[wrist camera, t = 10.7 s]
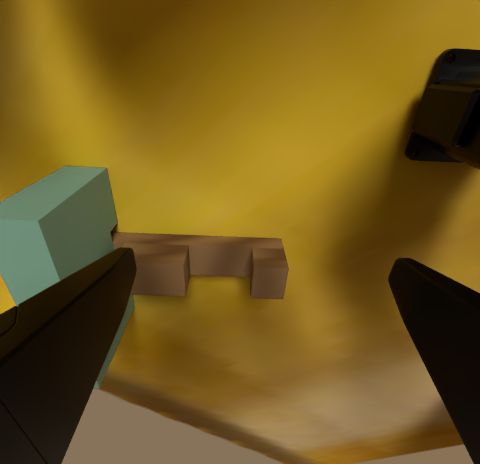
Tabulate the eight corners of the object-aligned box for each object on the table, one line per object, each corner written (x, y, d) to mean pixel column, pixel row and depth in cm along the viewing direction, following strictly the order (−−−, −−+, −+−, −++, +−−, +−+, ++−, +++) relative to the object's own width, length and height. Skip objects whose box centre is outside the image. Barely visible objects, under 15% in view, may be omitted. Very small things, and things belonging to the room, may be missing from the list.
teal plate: (64, 165, 20) (-28, 218, 13) (106, 168, 20) (37, 220, 13) (103, 305, 27) (57, 387, 20) (134, 306, 27) (99, 388, 20)
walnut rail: (280, 238, 23) (288, 268, 20) (276, 266, 25) (283, 299, 21) (37, 229, 22) (1, 258, 19) (49, 258, 24) (17, 290, 21)
